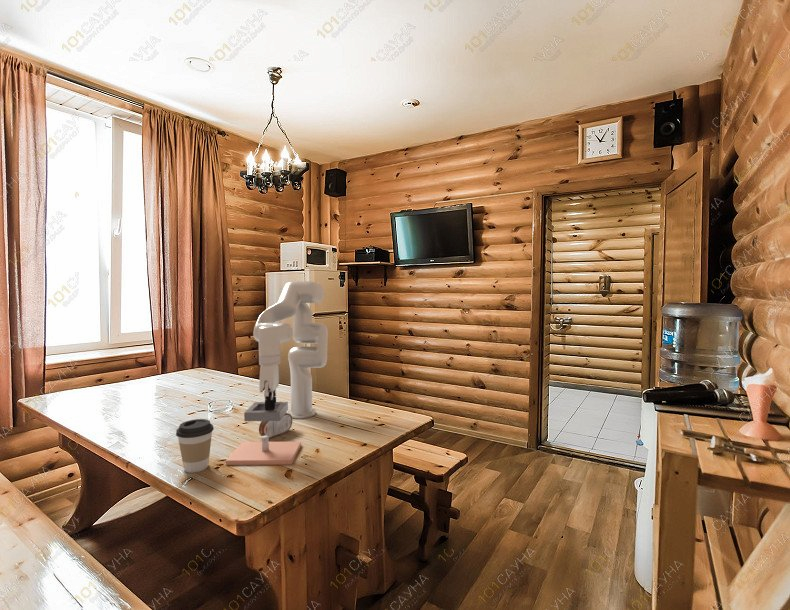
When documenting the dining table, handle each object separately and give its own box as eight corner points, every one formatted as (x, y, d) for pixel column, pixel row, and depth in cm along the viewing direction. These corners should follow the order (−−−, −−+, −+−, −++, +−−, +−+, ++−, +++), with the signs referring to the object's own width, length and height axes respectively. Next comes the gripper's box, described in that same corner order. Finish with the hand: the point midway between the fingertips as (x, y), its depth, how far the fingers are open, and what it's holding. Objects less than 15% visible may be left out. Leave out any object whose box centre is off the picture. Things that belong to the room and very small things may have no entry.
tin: (288, 428, 175) (288, 409, 175) (293, 430, 173) (293, 410, 173) (258, 439, 163) (257, 418, 163) (263, 441, 161) (263, 420, 161)
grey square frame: (255, 410, 154) (255, 402, 154) (287, 409, 155) (287, 401, 155) (244, 421, 142) (244, 412, 142) (279, 420, 143) (279, 412, 143)
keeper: (242, 445, 157) (241, 427, 157) (301, 445, 158) (300, 427, 157) (225, 464, 141) (225, 444, 141) (291, 464, 142) (291, 443, 141)
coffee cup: (194, 458, 146) (193, 416, 145) (222, 462, 143) (221, 419, 142) (168, 473, 135) (167, 427, 134) (197, 478, 132) (196, 431, 131)
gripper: (265, 355, 160) (266, 402, 161) (252, 364, 144) (253, 416, 146) (285, 355, 160) (285, 402, 162) (274, 363, 145) (275, 416, 146)
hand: (270, 408), depth 154 cm, fingers closed on grey square frame, 2 cm apart
